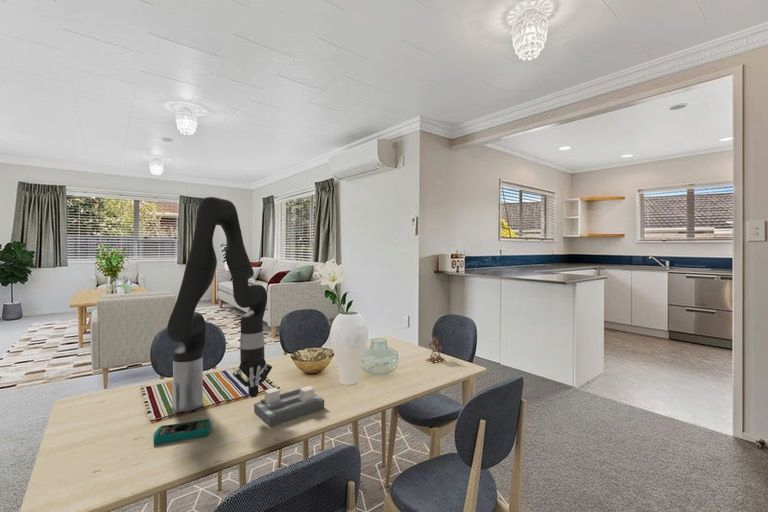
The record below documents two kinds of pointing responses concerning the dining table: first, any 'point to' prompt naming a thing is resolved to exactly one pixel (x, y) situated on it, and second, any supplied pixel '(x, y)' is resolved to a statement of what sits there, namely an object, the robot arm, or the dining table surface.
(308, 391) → the tab front
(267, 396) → the tab back
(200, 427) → the digital multimeter
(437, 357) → the brown irregular upright piece
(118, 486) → the dining table surface
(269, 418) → the switch panel
